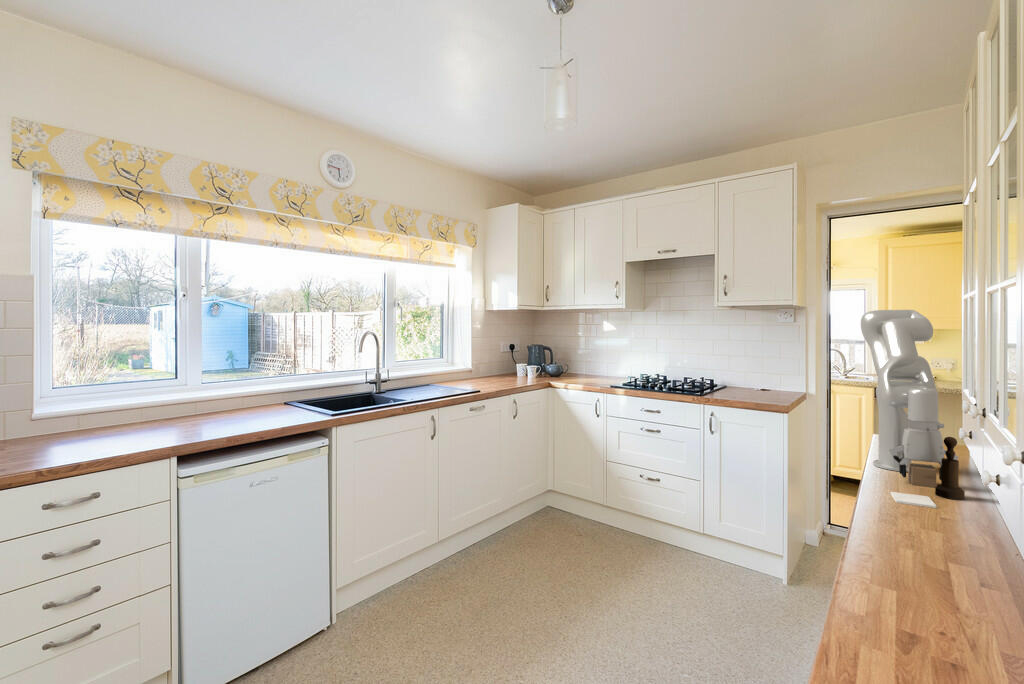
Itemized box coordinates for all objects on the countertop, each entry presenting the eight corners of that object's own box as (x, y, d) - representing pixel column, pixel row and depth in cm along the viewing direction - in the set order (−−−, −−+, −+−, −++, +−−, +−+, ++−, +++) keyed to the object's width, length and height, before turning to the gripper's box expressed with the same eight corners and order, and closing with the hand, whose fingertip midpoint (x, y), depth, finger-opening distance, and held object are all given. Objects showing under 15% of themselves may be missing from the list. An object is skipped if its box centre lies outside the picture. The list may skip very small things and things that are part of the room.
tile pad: (890, 493, 149) (890, 491, 149) (928, 498, 144) (928, 496, 144) (896, 502, 141) (896, 500, 141) (936, 508, 137) (936, 506, 136)
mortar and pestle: (952, 493, 149) (953, 435, 149) (970, 500, 143) (971, 439, 142) (929, 492, 150) (930, 434, 149) (946, 499, 143) (947, 439, 143)
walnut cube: (908, 480, 162) (908, 462, 162) (931, 483, 159) (931, 465, 159) (912, 485, 157) (912, 467, 157) (936, 488, 154) (936, 469, 154)
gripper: (954, 426, 156) (954, 479, 156) (887, 422, 165) (887, 472, 165) (961, 430, 150) (961, 485, 150) (891, 425, 158) (891, 477, 158)
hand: (922, 478), depth 157 cm, fingers open, 9 cm apart
